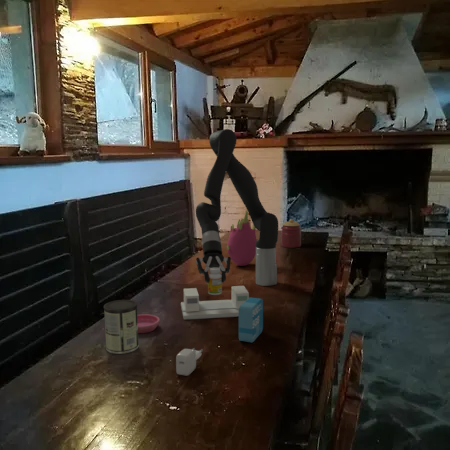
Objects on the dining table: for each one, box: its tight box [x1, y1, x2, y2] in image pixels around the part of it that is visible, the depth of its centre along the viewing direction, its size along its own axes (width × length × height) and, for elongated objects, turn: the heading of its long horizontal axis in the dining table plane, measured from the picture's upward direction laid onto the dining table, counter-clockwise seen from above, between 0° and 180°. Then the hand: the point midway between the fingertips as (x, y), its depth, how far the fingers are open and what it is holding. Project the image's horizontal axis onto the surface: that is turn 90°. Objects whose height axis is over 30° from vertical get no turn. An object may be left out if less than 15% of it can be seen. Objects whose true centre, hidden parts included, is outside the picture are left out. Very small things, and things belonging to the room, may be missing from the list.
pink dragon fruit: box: [226, 210, 259, 267], centre depth 257 cm, size 18×14×30 cm
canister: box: [280, 218, 302, 249], centre depth 310 cm, size 13×13×18 cm
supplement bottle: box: [207, 267, 223, 296], centre depth 186 cm, size 5×5×10 cm
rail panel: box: [180, 285, 250, 321], centre depth 187 cm, size 26×16×8 cm, turn 99°
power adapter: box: [175, 347, 204, 377], centre depth 138 cm, size 11×5×6 cm, turn 159°
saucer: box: [137, 313, 161, 334], centre depth 169 cm, size 12×12×3 cm
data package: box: [238, 296, 264, 344], centre depth 160 cm, size 12×4×12 cm, turn 158°
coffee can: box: [103, 299, 140, 355], centre depth 152 cm, size 10×10×14 cm
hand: (215, 281), depth 184 cm, fingers closed on supplement bottle, 5 cm apart
